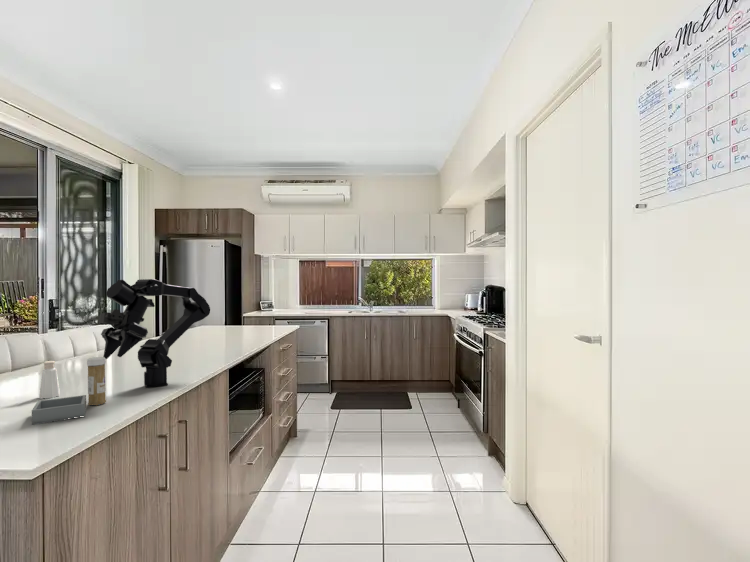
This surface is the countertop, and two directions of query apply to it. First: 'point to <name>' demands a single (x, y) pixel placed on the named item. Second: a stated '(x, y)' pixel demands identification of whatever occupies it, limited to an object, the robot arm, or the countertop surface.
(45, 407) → the tray
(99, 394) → the sprinkles bottle
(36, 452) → the countertop surface
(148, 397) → the countertop surface
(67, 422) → the countertop surface
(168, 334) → the robot arm
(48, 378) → the pepper shaker
